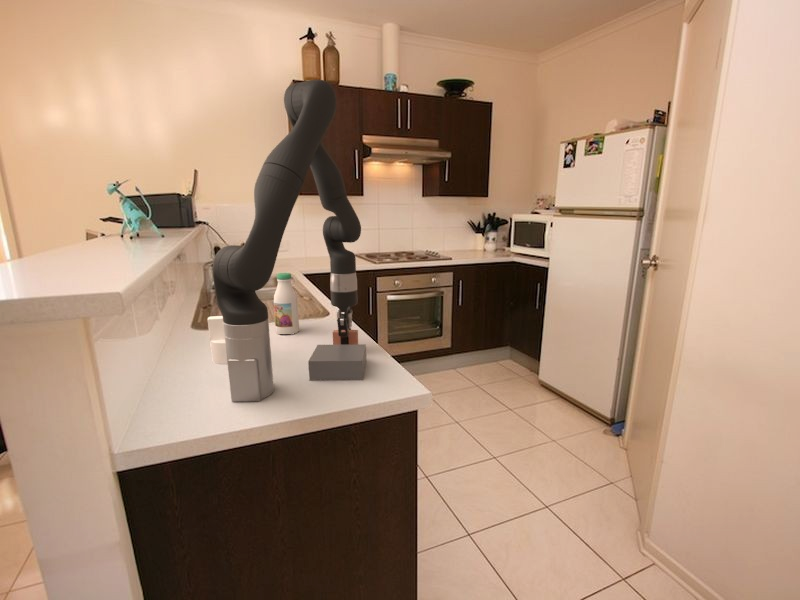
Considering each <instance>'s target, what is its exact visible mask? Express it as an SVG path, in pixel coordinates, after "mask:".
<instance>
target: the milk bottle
mask: <svg viewBox="0 0 800 600" xmlns="http://www.w3.org/2000/svg"><path fill="white" fill-rule="evenodd" d="M276 281H277V286H276V289H275V292H274V294H273V311H274V312H273V314H274V326H275V333H276V334H277V333H278V334H277V335H279V334H291V335H294V334H293V333H295V334H297V333H299V332H300V321H299V320H300V317H299V304H298V303H299V302H298V296H297V294H296V291H295V290H294V286H293V284H292V274H291V273H290V272H280V273H276ZM298 331H299V332H298Z"/></svg>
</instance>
